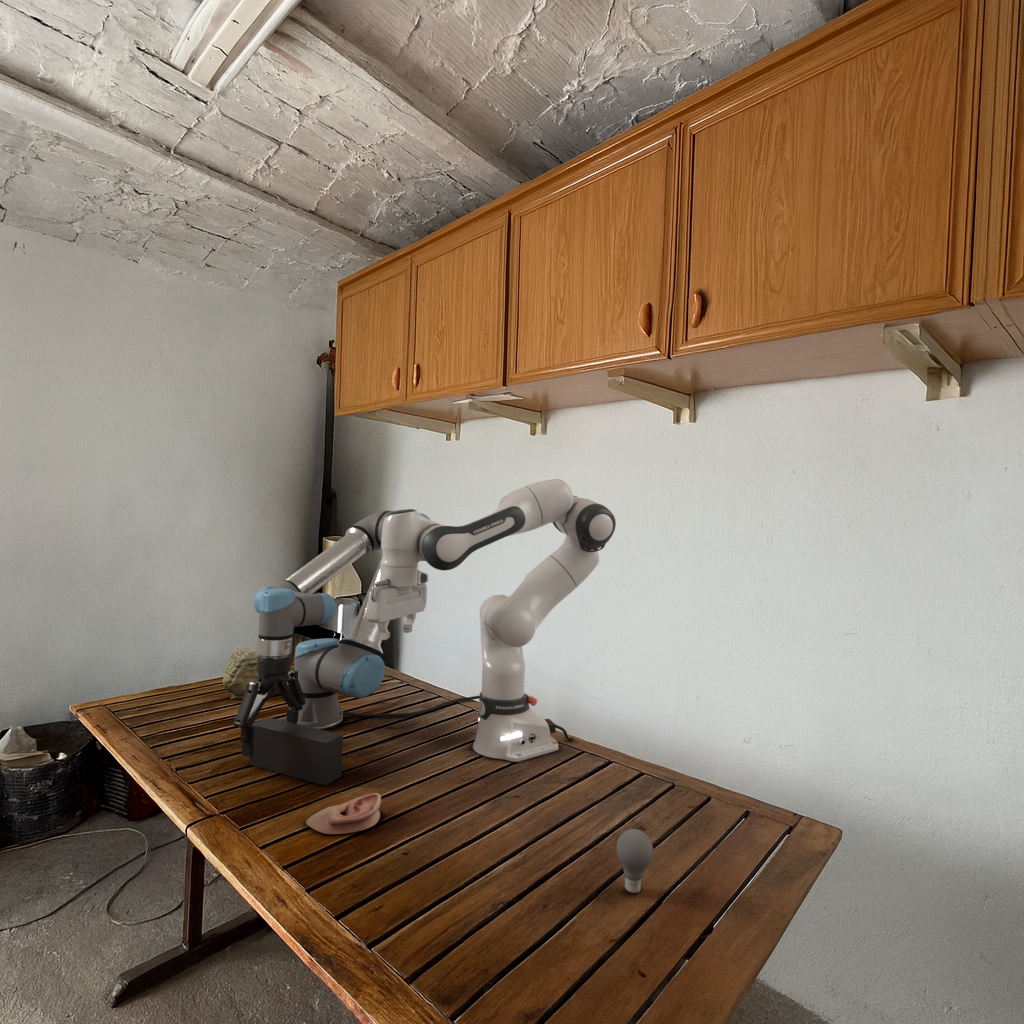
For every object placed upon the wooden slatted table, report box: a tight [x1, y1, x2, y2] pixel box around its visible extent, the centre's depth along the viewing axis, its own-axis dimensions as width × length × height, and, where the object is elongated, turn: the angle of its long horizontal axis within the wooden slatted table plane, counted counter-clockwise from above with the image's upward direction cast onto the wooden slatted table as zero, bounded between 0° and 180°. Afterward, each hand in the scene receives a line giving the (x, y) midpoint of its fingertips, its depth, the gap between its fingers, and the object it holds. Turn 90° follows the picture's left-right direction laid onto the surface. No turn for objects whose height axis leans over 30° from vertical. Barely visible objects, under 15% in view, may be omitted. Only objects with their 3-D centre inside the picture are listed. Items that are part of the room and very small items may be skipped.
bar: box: [248, 716, 344, 787], centre depth 146 cm, size 23×6×10 cm, turn 66°
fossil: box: [222, 646, 263, 699], centre depth 198 cm, size 9×18×15 cm, turn 132°
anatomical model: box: [305, 792, 382, 835], centre depth 124 cm, size 13×4×12 cm
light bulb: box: [615, 828, 654, 894], centre depth 106 cm, size 6×6×10 cm
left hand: (269, 745), depth 148 cm, fingers open, 13 cm apart
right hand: (396, 635), depth 150 cm, fingers open, 8 cm apart
